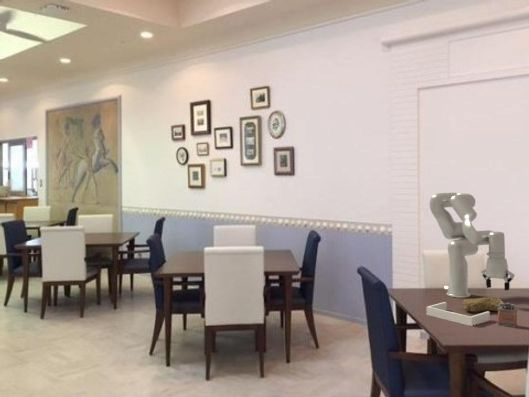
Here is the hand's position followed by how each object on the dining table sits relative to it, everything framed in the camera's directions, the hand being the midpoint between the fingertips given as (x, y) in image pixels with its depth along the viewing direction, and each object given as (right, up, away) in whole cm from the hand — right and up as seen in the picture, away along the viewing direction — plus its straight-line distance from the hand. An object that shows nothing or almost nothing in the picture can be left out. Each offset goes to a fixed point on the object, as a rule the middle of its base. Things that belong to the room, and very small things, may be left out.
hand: (497, 288), depth 263 cm
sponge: (-11, -10, -8) cm, 17 cm away
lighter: (-10, -11, -32) cm, 36 cm away
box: (-28, -10, -19) cm, 36 cm away
